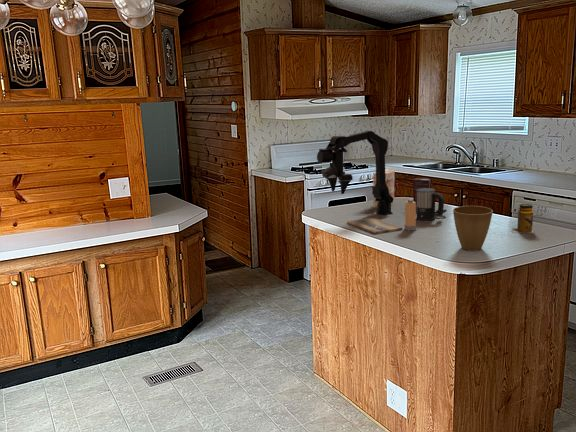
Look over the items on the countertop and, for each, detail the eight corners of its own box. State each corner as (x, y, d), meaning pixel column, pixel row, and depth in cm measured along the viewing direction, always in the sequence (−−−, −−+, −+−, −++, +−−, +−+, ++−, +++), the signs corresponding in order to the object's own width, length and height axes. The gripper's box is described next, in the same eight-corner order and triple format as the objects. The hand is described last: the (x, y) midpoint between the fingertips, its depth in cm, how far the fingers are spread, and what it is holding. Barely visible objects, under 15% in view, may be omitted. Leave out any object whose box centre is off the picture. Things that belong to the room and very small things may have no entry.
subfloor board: (373, 219, 272) (373, 217, 272) (402, 229, 249) (402, 227, 249) (347, 223, 266) (347, 221, 266) (374, 234, 244) (374, 232, 244)
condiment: (533, 233, 234) (535, 206, 231) (512, 232, 236) (514, 206, 234) (531, 229, 240) (533, 203, 238) (511, 228, 243) (512, 202, 240)
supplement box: (430, 207, 294) (430, 178, 290) (428, 209, 290) (429, 180, 286) (414, 206, 297) (414, 178, 294) (412, 208, 293) (412, 179, 290)
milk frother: (414, 220, 266) (414, 191, 263) (419, 213, 281) (419, 185, 277) (444, 221, 261) (444, 191, 258) (447, 214, 275) (448, 186, 272)
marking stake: (404, 228, 251) (404, 199, 248) (412, 228, 252) (412, 198, 249) (407, 230, 247) (408, 201, 244) (416, 230, 248) (416, 200, 245)
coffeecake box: (384, 208, 296) (384, 173, 291) (372, 207, 300) (372, 173, 295) (395, 203, 308) (395, 169, 304) (383, 202, 312) (383, 169, 307)
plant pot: (445, 245, 222) (446, 207, 218) (477, 241, 225) (478, 204, 221) (464, 255, 207) (465, 215, 204) (498, 251, 211) (500, 211, 207)
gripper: (314, 161, 271) (314, 191, 274) (333, 164, 254) (333, 197, 258) (333, 159, 276) (333, 189, 279) (353, 162, 259) (353, 194, 262)
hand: (337, 192), depth 269 cm, fingers open, 9 cm apart
